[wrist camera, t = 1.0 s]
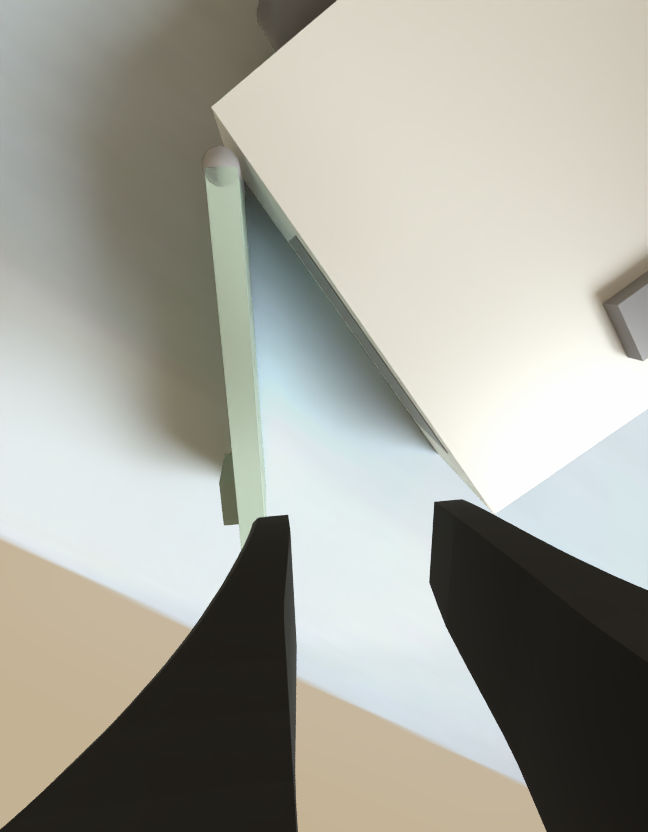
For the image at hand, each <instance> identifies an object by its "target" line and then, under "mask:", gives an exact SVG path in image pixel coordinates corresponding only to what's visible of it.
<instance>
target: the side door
mask: <svg viewBox="0 0 648 832" xmlns="http://www.w3.org/2000/svg"><path fill="white" fill-rule="evenodd" d="M202 169H203V173H204V175H205V180H206V190H207V201H208V211H209V221H210V232H211V242H212V252H213V262H214V273H215V283H216V293H217V303H218V314H219V324H220V334H221V345H222V355H223V365H224V375H225V386H226V396H227V406H228V417H229V427H230V437H231V447H232V453H231V454H225V457H224V462H223V467H222V472H221V477H220V482H219V485H220V494H221V503H222V512H223V521H224V525H234V524H239V530H240V540H241V550H242V548H243V546H244V544H245V542H246V539H247V537H248V535H249V532H250V530H251V527H252V524H253V522H254V521H255V520H256V519H257V518H259V517H266V483H265V470H264V456H263V442H262V429H261V415H260V401H259V388H258V374H257V360H256V346H255V333H254V319H253V305H252V292H251V278H250V264H249V251H248V237H247V223H246V210H245V198H246V191H245V187H244V183H243V178H242V174H241V170H240V165H239V161H238V159H237V157H236V155H235V154H234V153H233V152H232V151H231V150H230V149H229V148H227V147H224V146H214V147H212V148H210V149H209V150H208V151H207V152H206V153H205V155H204V157H203V160H202Z"/></svg>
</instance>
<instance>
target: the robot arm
mask: <svg viewBox="0 0 648 832" xmlns="http://www.w3.org/2000/svg"><path fill="white" fill-rule="evenodd" d="M429 583H430V585H431V588H432V591H433V594H434V596H435V599H436V602H437V605H438V607H439V610H440V612H441V615H442V618H443V620H444V623H445V625H446V627H447V629H448V631H449V633H450V635H451V637H452V639H453V641H454V643H455V645H456V647H457V649H458V651H459V653H460V654H461V656H462V658H463V660H464V662H465V664H466V666H467V668H468V670H469V671H470V673H471V675H472V677H473V679H474V681H475V683H476V684H477V686H478V688H479V690H480V692H481V694H482V696H483V698H484V699H485V701H486V703H487V705H488V707H489V709H490V711H491V713H492V714H493V716H494V718H495V720H496V722H497V724H498V726H499V727H500V729H501V731H502V733H503V735H504V737H505V739H506V741H507V743H508V745H509V747H510V749H511V751H512V753H513V755H514V757H515V759H516V761H517V764H518V766H519V768H520V770H521V773H522V775H523V777H524V780H525V782H526V784H527V787H528V789H529V791H530V794H531V796H532V798H533V801H534V803H535V805H536V808H537V810H538V812H539V815H540V817H541V819H542V821H543V824H544V826H545V829H546V831H547V832H648V590H646V589H643V588H641V587H638V586H636V585H634V584H631V583H629V582H627V581H625V580H622V579H620V578H618V577H615V576H613V575H611V574H609V573H607V572H605V571H603V570H600V569H598V568H596V567H594V566H592V565H590V564H588V563H586V562H584V561H581V560H579V559H577V558H575V557H573V556H571V555H569V554H567V553H565V552H563V551H561V550H559V549H557V548H555V547H553V546H551V545H549V544H547V543H546V542H544V541H542V540H540V539H538V538H536V537H534V536H532V535H530V534H529V533H527V532H525V531H523V530H521V529H519V528H517V527H516V526H514V525H512V524H510V523H508V522H506V521H504V520H503V519H501V518H499V517H497V516H495V515H493V514H491V513H489V512H488V511H486V510H484V509H482V508H480V507H478V506H476V505H474V504H472V503H469V502H467V501H465V500H462V499H461V500H450V501H439V502H434V517H433V533H432V549H431V565H430V581H429ZM296 650H297V644H296V626H295V608H294V590H293V572H292V554H291V536H290V526H289V519H288V515H281V516H270V517H259V518H257V519H256V520H255V521H254V522H253V524H252V527H251V530H250V532H249V535H248V537H247V539H246V542H245V544H244V546H243V548H242V550H241V552H240V554H239V556H238V558H237V560H236V561H235V563H234V565H233V567H232V569H231V570H230V572H229V574H228V576H227V577H226V579H225V581H224V583H223V584H222V586H221V588H220V589H219V591H218V592H217V594H216V595H215V597H214V598H213V600H212V601H211V603H210V604H209V606H208V607H207V609H206V610H205V612H204V613H203V615H202V616H201V618H200V619H199V621H198V622H197V624H196V625H195V626H194V628H193V629H192V630H191V632H190V633H189V635H188V636H187V637H186V639H185V640H184V641H183V642H182V644H181V645H180V646H179V648H178V649H177V650H176V651H175V653H174V654H173V655H172V656H171V658H170V659H169V660H168V662H167V663H166V664H165V665H164V666H163V667H162V669H161V670H160V671H159V672H158V673H157V674H156V676H155V677H154V678H153V679H152V680H151V681H150V683H149V684H148V685H147V686H146V687H145V688H144V689H143V690H142V692H141V693H140V694H139V695H138V696H137V697H136V698H135V699H134V701H133V702H132V703H131V704H130V705H129V706H128V707H127V708H126V709H125V710H124V712H123V713H122V714H121V715H120V716H119V717H118V718H117V719H116V720H115V721H114V722H113V723H112V724H111V726H109V727H108V728H107V729H106V730H105V732H103V734H101V736H99V737H98V739H96V740H95V741H94V742H93V743H92V744H91V745H90V746H89V747H88V748H87V749H86V750H85V751H84V752H83V753H82V754H81V755H80V756H79V757H78V758H77V759H76V760H75V761H74V762H73V763H72V764H71V765H70V766H68V767H67V768H66V770H64V772H62V773H61V774H60V775H59V776H58V777H57V778H56V779H55V780H54V781H53V782H52V783H51V784H50V785H49V786H48V787H47V788H46V789H45V790H44V791H43V792H42V793H41V794H40V795H38V796H37V797H36V798H35V799H34V800H33V801H32V802H31V803H30V804H29V805H28V806H27V807H26V808H24V809H23V810H22V811H21V812H20V813H19V814H17V815H16V816H15V817H14V818H13V819H12V820H11V821H10V822H9V823H7V824H6V825H5V826H4V827H3V828H1V829H0V832H298V827H297V811H296V789H295V788H296V787H295V786H296V785H295V737H296V736H295V735H296V734H295V733H296Z"/></svg>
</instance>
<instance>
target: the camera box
mask: <svg viewBox="0 0 648 832" xmlns="http://www.w3.org/2000/svg"><path fill="white" fill-rule="evenodd" d="M257 19H258V23H259V25H260V27H261V28H262V30H263V31H264V33H265V35H266V36H267V38H268V40H269V41H270V43H271V44H272V46H273V48H274V49H275V51H276V53H274V54H273V55H272V56H271V57H270V58H269V59H267V60H266V61H265V62H264V63H263V64H261V65H260V66H259V67H258V68H257V69H256V70H254V71H253V72H252V73H251V74H250V75H248V76H247V77H246V78H245V79H244V80H243V81H241V82H240V83H239V84H238V85H237V86H235V87H234V88H233V89H232V90H231V91H230V92H228V93H227V94H226V95H225V96H224V97H222V98H221V99H220V100H219V101H218V102H217V103H215V104H214V105H213V106H212V107H211V108H212V111H213V114H214V117H215V120H216V123H217V126H218V130H219V133H220V136H221V139H222V142H223V145H224V147H227V148H229V149H230V150H231V151H232V152H233V153H234V154H235V155H236V157H237V159H238V161H239V165H240V170H241V174H242V178H243V179H244V181H245V182H246V184H247V185H248V187H249V188H250V189H251V191H252V192H253V194H254V195H255V196H256V198H257V199H258V201H259V202H260V203H261V205H262V206H263V208H264V209H265V211H266V212H267V213H268V215H269V216H270V218H271V219H272V220H273V222H274V223H275V225H276V226H277V227H278V229H279V230H280V232H281V233H282V234H283V236H284V237H285V239H286V240H287V242H288V243H289V244H290V246H291V247H292V249H293V250H294V251H295V253H296V254H297V256H298V257H299V258H300V260H301V261H302V263H303V264H304V265H305V267H306V268H307V270H308V271H309V273H310V274H311V275H312V277H313V278H314V280H315V281H316V282H317V284H318V285H319V287H320V288H321V289H322V291H323V292H324V294H325V295H326V296H327V298H328V299H329V301H330V302H331V304H332V305H333V306H334V308H335V309H336V311H337V312H338V313H339V315H340V316H341V318H342V319H343V320H344V322H345V323H346V325H347V326H348V328H349V329H350V330H351V332H352V333H353V335H354V336H355V337H356V339H357V340H358V342H359V343H360V344H361V346H362V347H363V349H364V350H365V351H366V353H367V354H368V356H369V357H370V359H371V360H372V361H373V363H374V364H375V366H376V367H377V368H378V370H379V371H380V373H381V374H382V375H383V377H384V378H385V380H386V381H387V382H388V384H389V385H390V387H391V388H392V390H393V391H394V392H395V394H396V395H397V397H398V398H399V399H400V401H401V402H402V404H403V405H404V406H405V408H406V409H407V411H408V412H409V413H410V415H411V416H412V418H413V419H414V421H415V422H416V423H417V425H418V426H419V428H420V429H421V430H422V432H423V433H424V435H425V436H426V437H427V439H428V440H429V442H430V443H431V445H432V446H433V447H434V449H435V450H436V452H437V453H438V454H439V455H440V457H441V458H442V459H443V460H444V461H445V462H446V463H447V464H448V465H449V466H450V467H451V468H452V469H453V471H454V472H455V473H456V474H457V475H458V476H459V477H460V478H461V479H462V480H463V481H464V482H465V483H466V485H467V486H468V487H469V488H470V489H471V490H472V491H473V492H474V493H475V494H476V495H477V496H478V497H479V498H480V500H481V501H482V502H483V503H484V504H485V505H486V506H487V507H488V508H489V509H490V510H491V511H492V512H493V514H495V513H497V512H498V511H500V510H501V509H503V508H504V507H506V506H507V505H508V504H510V503H511V502H513V501H514V500H516V499H517V498H519V497H520V496H521V495H523V494H524V493H526V492H527V491H529V490H530V489H532V488H533V487H534V486H536V485H537V484H539V483H540V482H542V481H543V480H545V479H546V478H548V477H549V476H550V475H552V474H553V473H555V472H556V471H558V470H559V469H561V468H562V467H563V466H565V465H566V464H568V463H569V462H571V461H572V460H574V459H575V458H576V457H578V456H579V455H581V454H582V453H584V452H585V451H587V450H588V449H589V448H591V447H592V446H594V445H595V444H597V443H598V442H600V441H601V440H602V439H604V438H605V437H607V436H608V435H610V434H611V433H613V432H614V431H616V430H617V429H618V428H620V427H621V426H623V425H624V424H626V423H627V422H629V421H630V420H631V419H633V418H634V417H636V416H637V415H639V414H640V413H642V412H643V411H644V410H646V409H647V408H648V0H259V4H258V8H257Z"/></svg>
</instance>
